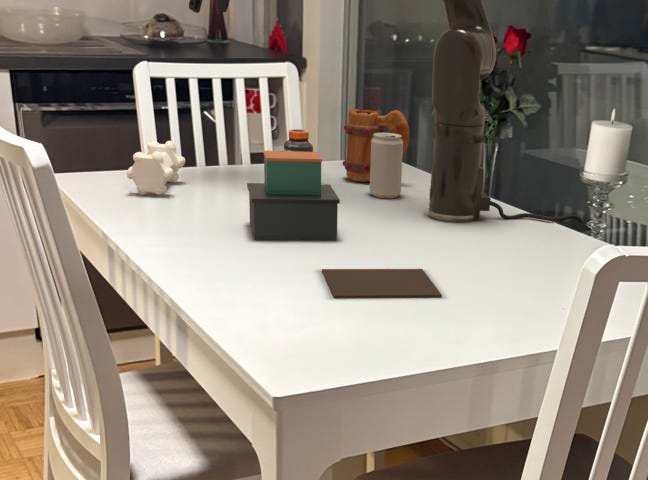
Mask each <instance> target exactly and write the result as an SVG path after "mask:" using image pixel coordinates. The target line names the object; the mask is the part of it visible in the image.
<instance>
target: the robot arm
mask: <svg viewBox="0 0 648 480" xmlns="http://www.w3.org/2000/svg"><path fill="white" fill-rule="evenodd" d="M441 3H442V5H443V9H444V13H445V17H446V22H447V27H448V29H447V30H446V31H444V32H442V34H441V35H440V36H439V38H438V39H437V41H436V43H435V47H434V52H433V57H432V60H433V61H432V77H431V78H432V79H431V84H432V85H431V88H432V89H431V101H432V106H433V110H434V126H433V142H432V143H433V144H432V157H431V158H432V159H431V170H430V171H431V173H430V186H429V187H430V188H429V192H428V193H429V195H428V197H429V201H428V210H427V211H428V212H427V214H428V216H429V217H431V218H433V219H436V220H440V221H444V222H445V221H446V222H454V223H455V222H456V223H457V222H459V223H461V222H471V221H480V216H481V212H490V210H491V207H494V208H495V209H496V210H497V211H498V214H499V216H500V217H501V218H502V219H504V220H518V219H523V218H526V219H527V218H528V219H536V220H541V221H547V222H563V221H566V220H571V219H574V220H576V221H577V222H578V223H581V224H585V221H584V220H583V218H582V217H581V216H579V215H577V214H574V213H570V214H566V215H561V216H548V215H543V214H536V213H530V212H522V213H517V214H513V215H509V214H508V215H507V214H505V213H504V210H503V208H502V206H501V205H500V204H499V203H497V202H495V201H492V200H491V197H490V196H489V195H488V194H486V192H484V191H483V182H484V171H485V169H484V168H483V167H482V158H483V157H482V156H483V147H484V146H483V145H484V144H483V143H484V133H485V122H486V109H485V107H484V106H483V105H482V104H481V101H480V85H481V84H480V83H481V81H483V80H484V79H486V78H487V77H488V76H489V75H490V74H491V73H492V72H493V70H494V67H495V65H496V61H497V46H496V41H495V38H494V35H493V31H492V29H491V28H492V27H491V25H490V22H489V18H488V15H487V11H486V8H485V4H484V1H483V0H441ZM202 4H203V0H189V1H188V8H189V10H190V11H191V12H194V13H195V14H197V13H200V12H201V7H202ZM229 4H230V0H216V5H215V7H216V9H217V10H218V11H220V12H221V13H227V12H228V8H229V6H230V5H229Z"/></svg>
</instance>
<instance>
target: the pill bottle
mask: <svg viewBox="0 0 648 480" xmlns="http://www.w3.org/2000/svg"><path fill="white" fill-rule="evenodd" d="M309 135H310V134H309V130H307V129H299V128H297V129H296V128H295V129H293V128H292V129H289V130H288V139H287V140H286V141H285V142H284V143H283V151H296V152H314V144H313V143H312V142H311V141H310V139H309V138H310V136H309Z"/></svg>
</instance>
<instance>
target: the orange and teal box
mask: <svg viewBox="0 0 648 480" xmlns="http://www.w3.org/2000/svg"><path fill="white" fill-rule="evenodd" d="M262 152H263V153H262V154H263V170H264V171H263V172H264V176H263V177H264V179H263V180H264V183H265V189H266V192H267V194H268V195H321V184H322V162H323V158H322V157H321V156H320V154H319V153H318V152H317V151H313V152H296V151H284V150H263V151H262Z"/></svg>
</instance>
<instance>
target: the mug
mask: <svg viewBox="0 0 648 480" xmlns="http://www.w3.org/2000/svg"><path fill="white" fill-rule="evenodd" d="M383 127H385V128H386V129H387V130H389V131H390V133H394V134H399V135H401V136H402V137H401V139H402V141H403V156H405V154H406V153H407V150H408V148H409V147H408V146H409V143H410V136H411V133H410V126H409V124H408V121H407V119H406V116H404V114H403V112H402V111H400V110H396V109H395V110H392V111H390V112H389V113H387V114H385V115H380V113H379V112H378V110H377V111H376V110H371V109H363V110H361V109H359V108H352V109H349V110H348V120H347V123H346V124H345V125H343V130H344V131H345V133H346V136H347V138H346V158H345V159H344V160H343V161H342V166H343V167H344V169H345V171H346V175H345V176H346V177H347V178H348V179H350V180H351V181H354V182H357V183H358V182H359V183H367V182H369V183H370V168H371V140H372V139H373V137H374V136H373V134H375V133H385V130H384V128H383Z"/></svg>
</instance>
